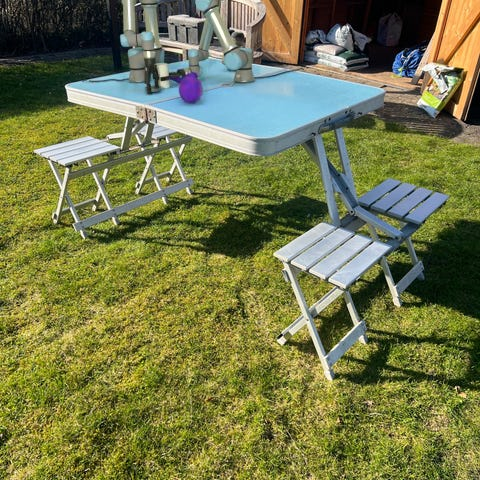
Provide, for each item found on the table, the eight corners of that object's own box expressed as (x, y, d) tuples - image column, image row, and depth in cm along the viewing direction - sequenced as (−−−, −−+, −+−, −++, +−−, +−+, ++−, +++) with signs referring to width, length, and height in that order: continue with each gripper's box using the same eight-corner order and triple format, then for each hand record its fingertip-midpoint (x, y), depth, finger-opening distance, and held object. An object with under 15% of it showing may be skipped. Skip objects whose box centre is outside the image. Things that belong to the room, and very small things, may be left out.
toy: (192, 94, 296) (203, 108, 275) (166, 89, 289) (175, 104, 268) (197, 69, 288) (208, 82, 267) (170, 64, 281) (180, 77, 260)
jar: (167, 84, 326) (165, 62, 318) (172, 87, 318) (169, 64, 310) (154, 86, 322) (151, 63, 314) (158, 88, 314) (155, 65, 307)
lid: (142, 91, 301) (142, 88, 300) (148, 88, 310) (148, 85, 309) (158, 92, 299) (157, 89, 298) (163, 88, 308) (163, 85, 307)
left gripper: (146, 60, 283) (150, 96, 294) (162, 55, 303) (165, 88, 314) (136, 60, 285) (140, 95, 296) (152, 54, 305) (155, 88, 316)
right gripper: (192, 81, 321) (165, 86, 309) (175, 77, 336) (149, 81, 324) (191, 70, 317) (164, 74, 305) (174, 66, 332) (148, 70, 320)
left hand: (153, 92), depth 305 cm, fingers closed on lid, 11 cm apart
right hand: (156, 78), depth 314 cm, fingers closed on jar, 10 cm apart
